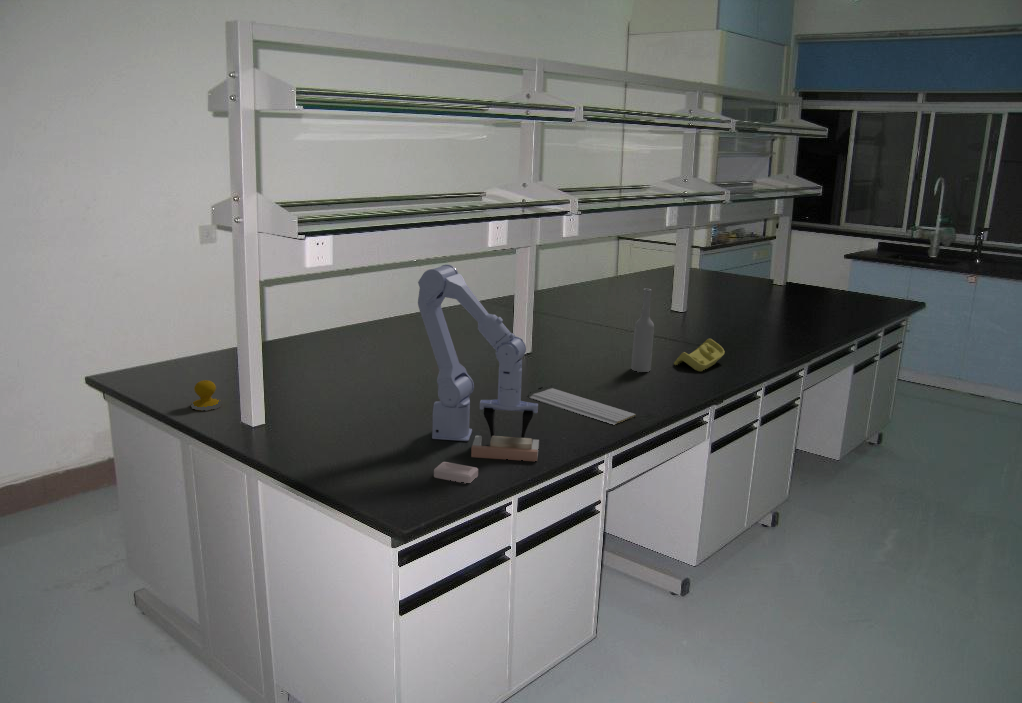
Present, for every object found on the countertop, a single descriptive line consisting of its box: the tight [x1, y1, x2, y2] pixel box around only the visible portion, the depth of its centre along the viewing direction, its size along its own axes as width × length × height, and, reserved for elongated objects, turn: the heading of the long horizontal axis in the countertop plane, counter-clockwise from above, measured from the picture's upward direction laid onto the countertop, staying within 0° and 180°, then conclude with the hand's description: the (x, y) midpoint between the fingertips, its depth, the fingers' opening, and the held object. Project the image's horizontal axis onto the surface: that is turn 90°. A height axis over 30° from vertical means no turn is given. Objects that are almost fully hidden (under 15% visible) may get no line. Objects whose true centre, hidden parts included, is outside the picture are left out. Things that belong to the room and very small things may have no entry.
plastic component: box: [673, 338, 725, 372], centre depth 282 cm, size 20×7×10 cm
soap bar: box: [433, 461, 479, 484], centre depth 183 cm, size 5×9×2 cm, turn 70°
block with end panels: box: [470, 435, 540, 462], centre depth 198 cm, size 16×8×2 cm, turn 85°
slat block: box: [489, 435, 533, 449], centre depth 197 cm, size 10×4×4 cm, turn 85°
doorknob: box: [192, 379, 220, 407], centre depth 221 cm, size 8×8×8 cm
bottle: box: [630, 288, 655, 373], centre depth 269 cm, size 7×7×28 cm
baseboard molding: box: [527, 385, 637, 426], centre depth 232 cm, size 31×3×12 cm
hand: (507, 437), depth 203 cm, fingers open, 7 cm apart
